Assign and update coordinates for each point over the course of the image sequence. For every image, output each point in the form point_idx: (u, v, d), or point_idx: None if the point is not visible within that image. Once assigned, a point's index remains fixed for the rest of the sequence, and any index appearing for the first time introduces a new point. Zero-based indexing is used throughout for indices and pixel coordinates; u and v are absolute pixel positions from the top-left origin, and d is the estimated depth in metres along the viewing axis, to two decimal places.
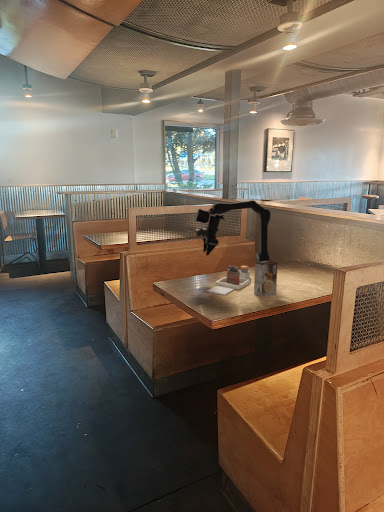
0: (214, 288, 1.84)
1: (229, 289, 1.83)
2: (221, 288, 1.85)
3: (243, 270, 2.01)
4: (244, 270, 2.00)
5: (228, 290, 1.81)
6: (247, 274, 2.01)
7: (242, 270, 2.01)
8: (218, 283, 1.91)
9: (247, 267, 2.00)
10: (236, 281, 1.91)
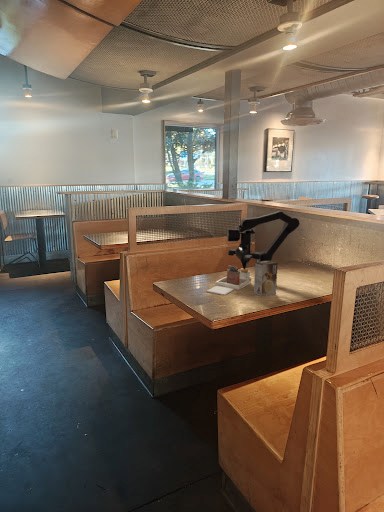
0: (214, 288, 1.84)
1: (229, 289, 1.83)
2: (221, 288, 1.85)
3: None
4: (244, 272, 2.01)
5: (228, 290, 1.81)
6: (247, 274, 2.01)
7: None
8: (218, 283, 1.91)
9: (247, 269, 2.00)
10: (236, 281, 1.91)
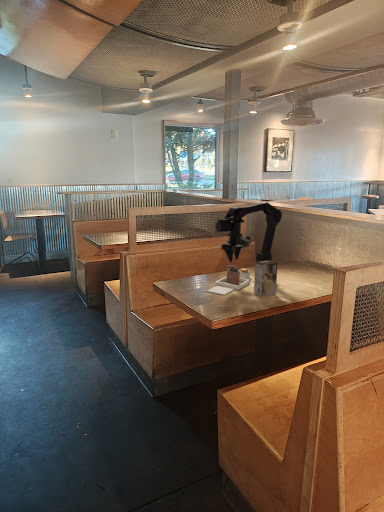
0: (214, 288, 1.84)
1: (229, 289, 1.83)
2: (221, 288, 1.85)
3: None
4: None
5: (228, 290, 1.81)
6: (247, 274, 2.01)
7: None
8: (218, 283, 1.91)
9: (247, 270, 2.00)
10: (236, 281, 1.91)
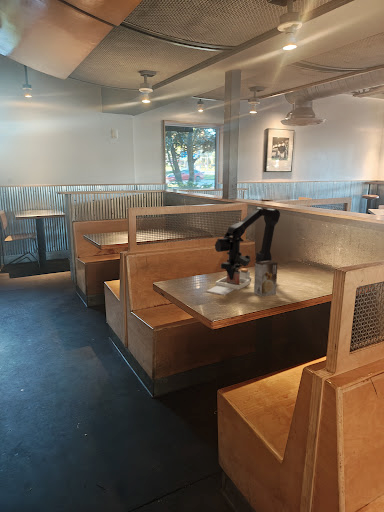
0: (214, 288, 1.84)
1: (229, 289, 1.83)
2: (221, 288, 1.85)
3: None
4: None
5: (228, 290, 1.81)
6: (247, 274, 2.01)
7: None
8: (218, 283, 1.91)
9: (247, 270, 2.00)
10: (236, 281, 1.91)
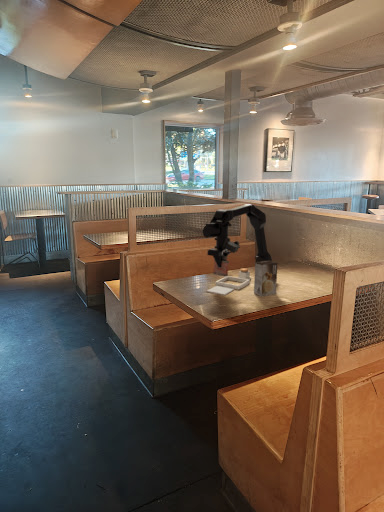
0: (214, 288, 1.84)
1: (229, 289, 1.83)
2: (221, 288, 1.85)
3: None
4: None
5: (228, 290, 1.81)
6: (247, 274, 2.01)
7: None
8: (218, 283, 1.91)
9: (247, 270, 2.00)
10: (224, 271, 1.77)
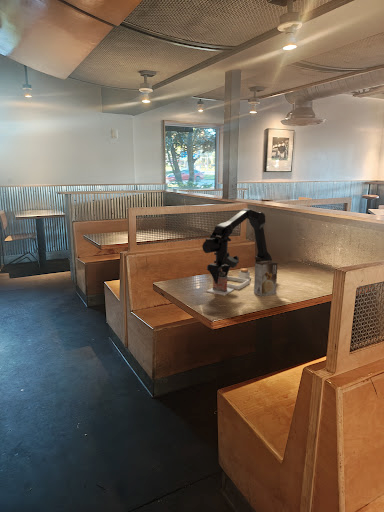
0: None
1: (229, 289, 1.83)
2: None
3: None
4: None
5: (228, 290, 1.81)
6: (247, 274, 2.01)
7: None
8: None
9: (247, 270, 2.00)
10: (224, 287, 1.79)
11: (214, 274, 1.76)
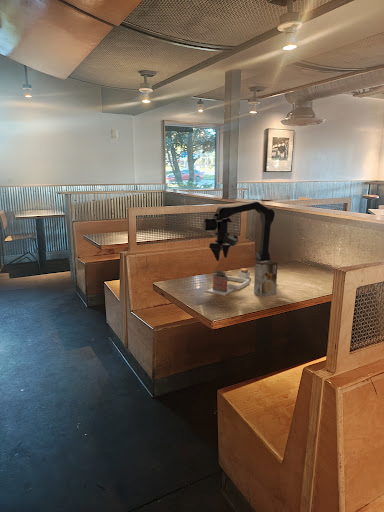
0: None
1: (229, 289, 1.83)
2: None
3: None
4: None
5: (228, 290, 1.81)
6: (247, 274, 2.01)
7: None
8: None
9: (247, 270, 2.00)
10: (224, 287, 1.79)
11: (216, 252, 1.89)
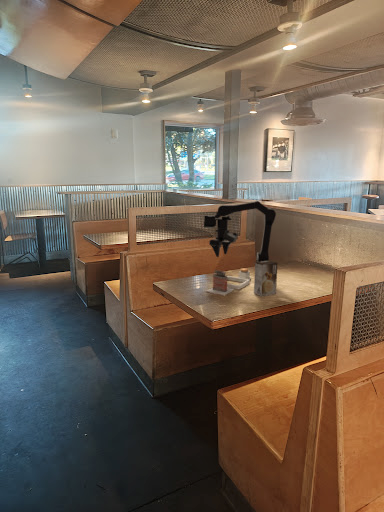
0: None
1: (229, 289, 1.83)
2: None
3: None
4: None
5: (228, 290, 1.81)
6: (247, 274, 2.01)
7: None
8: None
9: (247, 270, 2.00)
10: (224, 287, 1.79)
11: (215, 249, 1.97)
